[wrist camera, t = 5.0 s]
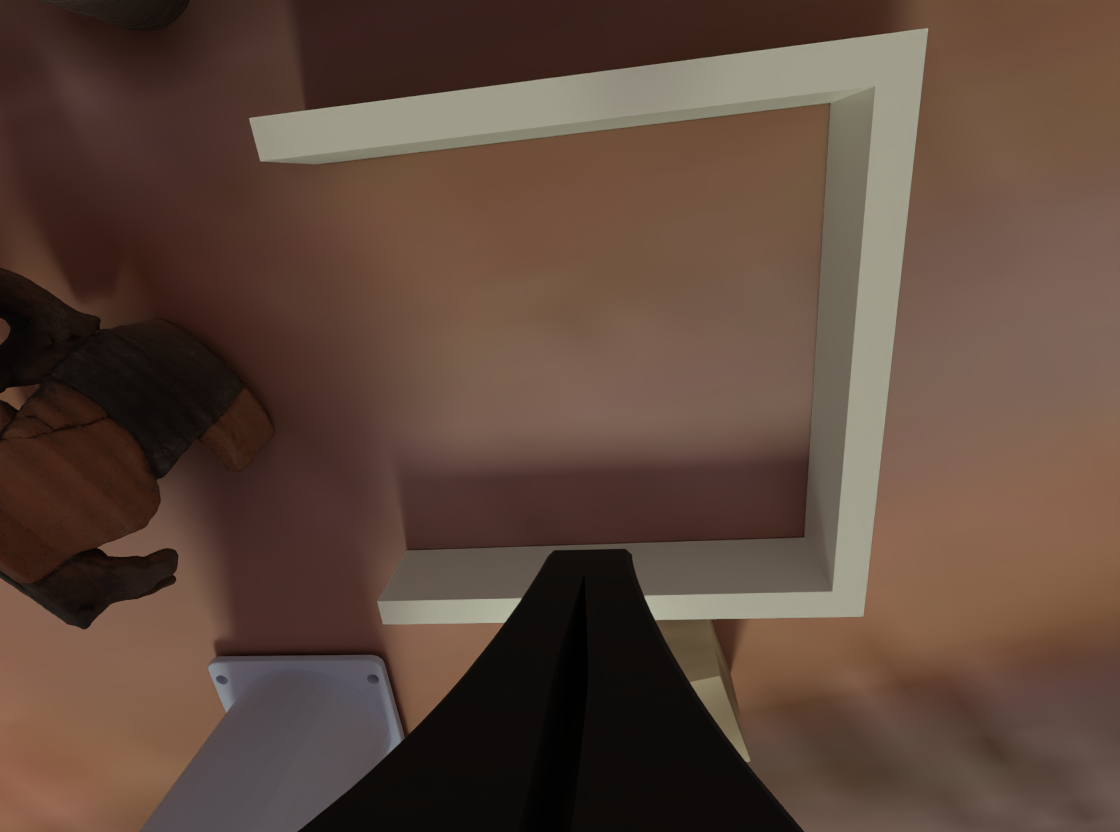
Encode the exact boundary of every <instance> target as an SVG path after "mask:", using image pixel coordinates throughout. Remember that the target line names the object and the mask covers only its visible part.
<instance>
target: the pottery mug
mask: <svg viewBox="0 0 1120 832" xmlns="http://www.w3.org/2000/svg"><path fill="white" fill-rule="evenodd" d="M0 318H2V319H4V320H5V321H6V322H7V323H8V325H9V326H10V328H11V330H10V334H9V336H8V338H7V339H6V340H5V341H4V342H3V343H2V344H1V345H0V393H2V392H4V391H5V390H6V388H10V387H21V386H29V385H35V384H41V385H40V387H39V388H38V389H37V391H36V392H35V393H34V394H33V395H32V396H31V397H29V398H28V400H27V401H26V402H25V404H23V405H22V406H21V408H20V410H17V409H15V408H14V407H12V406H11V405H9V404H8V403H7V402H4V401H2V400H0V578H1V579H3V580H4V581H6V582H7V583H9V584H11V585H12V586H14V587H15V588H16V589H18V590H19V591H20V592H22V593H23V594H25V595H27V596H29V597H30V598H31V599H33V600H34V601H36V602H37V603H38V604H40V605H42V606H43V607H44V608H45V609H47V610H48V611H50V612H51V613H52V614H54V615H56V616H57V617H58V618H60V619H61V620H63V621H64V622H65V623H66V624H69V625H74V626H77V627H79V628H82V629H87V628H88V627H89V626H90V625H91V623H92V622H93V621H94V620H95V619H96V618H97V616H98V615H100V614H101V613H102V612H103V611H104V610H105V609H106V608H107V607H108V606H109V605H110V604H112V603H115V602H119V601H124V600H131V599H139V598H141V597H143V596H146V595H150V594H153V593H155V592H157V591H158V590H160V589H162V588H164V587H167V586H169V585H172V584H174V583H175V581H176V577H175V576H174V575H172V574H174V573H175V571H176V570H177V565H178V554H177V552H176V551H175V550H174V549H170V548H166V549H162V550H159V551H156V552H154V553H152V554H150V555H148V556H145V557H140V556H131V557H113V556H107V555H106V554H105V553H104V552H103V551H102V550H100V549H98V548H97V547H99V546H101V545H102V544H104V543H107V542H111V541H114V540H116V539H119V538H122V537H124V536H126V535H128V534H131V533H134V532H136V531H138V530H140V529H142V528H144V527H146V526H147V525H148V523H149V521H150V519H151V518H152V517H153V516H154V515H155V513H156V512H157V510H158V507H159V505H160V501H161V498H160V492H159V486H158V484H157V479H159V478H162V477H164V476H165V475H166V474H167V473H168V472H169V470H170V469H171V468H172V466H173V465H174V464H175V463H176V461H177V460H178V459H179V457H180V456H181V455H182V454H183V453H184V452H185V451H186V450H187V449H188V448H189V446H190V445H191V443H192V442H193V441H194V440H195V439H196V438H198V439H199V440H200V441H201V442H202V443H204V444H205V445H206V446H208V447H210V449H211V451H212V452H213V453H214V454H215V455H216V456H217V457H218V458H219V459H220V460H221V462H222V463H223V464H224V466H225V468H226V469H227V470H228V471H231V472H240V471H242V470H243V469H245V468H246V467H247V466H248V465H249V464H250V463H251V462H252V460H253V459H254V457H255V455H256V454H257V453H258V452H259V450H260V449H261V448H262V447H263V446H264V445H265V443H266V442H267V441H268V440H269V439H270V438H271V437H272V435H273V434H274V428H273V426H272V425H271V423H270V420H269V417H268V415H267V414H266V413H265V411H264V410H263V409H262V407H261V405H260V403H259V402H258V401H257V400H256V399H255V398H254V397H253V395H252V394H251V392H250V391H249V390H248V389H247V388H246V387H245V386H244V385H243V383H242V381H241V380H240V379H239V378H238V377H237V376H236V375H235V374H234V373H233V372H232V371H231V370H230V369H229V368H228V367H227V365H226V364H225V362H224V360H223V359H222V358H221V357H219V356H218V355H216V354H214V353H213V352H212V351H211V350H210V349H209V348H208V347H207V346H206V345H205V344H204V343H203V342H202V341H200V340H198V339H197V338H196V337H195V336H193V335H192V334H190V333H189V332H187V331H184V330H182V329H180V328H179V327H177V326H175V325H173V324H171V323H169V322H167V321H164V320H161V319H152V320H149V321H146V322H142V323H138V324H134V325H124V326H118V327H115V328H113V329H101V330H100V325H99V324H100V321H101V320H100V318H98V317H97V316H93V315H90V314H85V313H81V312H79V311H76V310H75V309H73V308H71V307H70V306H68V305H66V304H65V303H64V302H62V301H61V300H60V299H58V298H57V297H55V296H54V295H53V294H51V293H50V292H49V291H47V290H45V289H43V288H42V287H40V286H38V285H37V284H35V283H34V282H32V281H31V280H29V279H27V278H25V277H23V276H21V275H19V274H17V273H14V272H12V271H9V270H6V269H3V268H0Z"/></svg>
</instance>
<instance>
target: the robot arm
mask: <svg viewBox="0 0 1120 832" xmlns="http://www.w3.org/2000/svg"><path fill="white" fill-rule="evenodd" d="M208 670H209V673H210V675H211V677H212V680H213V682H214V685H215V687H216V689H217V692H218V694H219V697H220V699H221V701H222V704H223V706H224V709H225V711H226V714H225V716H224V717H223V718H222V720H221V721H220V722H219V724H218V725H217V726H216V728H215V729H214V730H213V732H212V733H211V735H210V736H209V737H208V739H207V740H206V741H205V743H204V744H203V745H202V747H201V748H200V749H199V751H198V752H197V754H196V755H195V756H194V758H193V759H192V760H191V762H190V763H189V764H188V766H187V767H186V768H185V770H184V771H183V772H182V774H181V775H180V777H179V778H178V779H177V781H176V782H175V783H174V785H173V786H172V787H171V789H170V790H169V791H168V793H167V794H166V796H165V797H164V798H163V800H162V801H161V802H160V804H159V805H158V806H157V808H156V809H155V810H154V812H153V813H152V815H151V816H150V817H149V819H148V820H147V821H146V823H145V824H144V825H143V827H142V828H141V829H140V831H139V832H804V831H803V830H802V829H801V827H800V826H799V825H798V824H797V823H796V822H795V820H794V819H793V818H792V817H791V816H790V815H789V813H788V812H787V811H786V810H785V809H784V807H783V806H782V805H781V804H780V803H779V802H778V800H777V799H776V798H775V797H774V796H773V794H772V793H771V792H770V791H769V790H768V789H767V787H766V786H765V785H764V784H763V783H762V781H761V780H760V779H759V778H758V777H757V776H756V774H755V773H754V772H753V771H752V769H751V768H750V767H749V766H748V764H747V763H746V762H745V760H744V759H743V758H742V756H741V755H740V754H739V752H738V751H737V750H736V748H735V747H734V746H733V744H732V743H731V742H730V741H729V739H728V738H727V737H726V735H725V734H724V732H723V731H722V730H721V728H720V727H719V725H718V724H717V722H716V721H715V720H714V718H713V717H712V715H711V714H710V713H709V711H708V710H707V708H706V707H705V705H704V704H703V702H702V701H701V699H700V698H699V696H698V695H697V693H696V692H695V690H694V688H693V687H692V685H691V684H690V682H689V680H688V679H687V677H686V675H685V674H684V672H683V670H682V669H681V667H680V665H679V664H678V662H677V660H676V659H675V657H674V655H673V653H672V652H671V650H670V648H669V646H668V644H667V643H666V641H665V639H664V637H663V635H662V633H661V631H660V629H659V627H658V625H657V623H656V621H655V619H654V617H653V615H652V613H651V611H650V609H649V606H648V604H647V602H646V600H645V597H644V595H643V592H642V590H641V587H640V585H639V582H638V579H637V576H636V572H635V569H634V565H633V560H632V554H631V553H630V552H628V551H627V550H626V549H589V550H554V551H553V552H552V553H551V554H550V555H548V557H547V558H546V560H545V562H544V564H543V566H542V567H541V569H540V571H539V572H538V574H537V576H536V577H535V579H534V580H533V582H532V584H531V585H530V587H529V588H528V590H527V591H526V593H525V594H524V596H523V598H522V599H521V601H520V602H519V604H518V605H517V606H516V608H515V609H514V611H513V612H512V613H511V615H510V616H509V618H508V619H507V620H506V622H505V623H504V625H503V626H502V628H501V629H500V630H499V632H498V633H497V634H496V636H495V637H494V638H493V640H492V641H491V642H490V644H489V645H488V646H487V647H486V648H485V650H484V651H483V652H482V653H481V655H480V656H479V657H478V658H477V660H476V661H475V662H474V663H473V665H472V666H471V667H470V668H469V670H468V671H467V672H466V673H465V675H464V676H463V677H462V678H461V679H460V680H459V682H458V683H457V684H456V685H455V686H454V687H453V688H452V690H451V691H450V692H449V693H448V694H447V695H446V696H445V697H444V698H443V700H442V701H441V702H440V703H439V704H438V705H437V706H436V707H435V708H434V709H433V710H432V711H431V712H430V713H429V714H428V716H427V717H426V718H425V719H424V720H423V721H422V722H421V723H420V724H419V725H418V726H417V727H416V728H415V729H414V730H413V731H412V732H411V733H410V734H409V735H408V736H407V737H406V738H405V736H404V733H403V729H402V725H401V722H400V718H399V714H398V711H397V707H396V703H395V700H394V696H393V692H392V689H391V685H390V681H389V678H388V674H387V670H386V667H385V663H384V661H383V660H382V659H381V658H380V657H378V656H376V655H305V656H219V657H216V658H214V659H213V660H212V661H211V663H210V664H209V666H208ZM374 675H375V676H374Z"/></svg>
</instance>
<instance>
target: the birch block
mask: <svg viewBox="0 0 1120 832" xmlns="http://www.w3.org/2000/svg"><path fill="white" fill-rule="evenodd" d="M655 621H656V623H657V625H658V627H659V629H660V631H661V633H662V635H663V637H664V639H665V641H666V643H667V644H668V646H669V648H670V650H671V652H672V653H673V655H674V657H675V659H676V660H677V662H678V664H679V665H680V667H681V669H682V670H683V672H684V674H685V675H686V677H687V679H688V680H689V682H690V684H691V685H692V687H693V688H694V690H695V692H696V693H697V695H698V696H699V698H700V699H701V701H702V702H703V704H704V705H705V707H706V708H707V710H708V711H709V713H710V714H711V715H712V717H713V718H714V720H715V721H716V722H717V724H718V725H719V727H720V728H721V730H722V731H723V732H724V734H725V735H726V737H727V738H728V739H729V741H730V742H731V743H732V744H733V746H734V747H735V748H736V750H737V751H738V752H739V754H740V755H741V756H742V758H743V759H744V760H745V762H750V761H751V760H750V756H749V751H748V747H747V743H746V738H745V734H744V730H743V725H742V721H741V717H740V712H739V708H738V704H737V699H736V695H735V691H734V686H733V682H732V678H731V673H730V670H729V667H728V665H727V662H726V659H725V656H724V653H723V650H722V648H721V645H720V642H719V639H718V636H717V633H716V631H715V628H714V625H713V622H712V619H686V620H655Z"/></svg>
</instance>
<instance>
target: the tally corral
mask: <svg viewBox="0 0 1120 832" xmlns="http://www.w3.org/2000/svg"><path fill="white" fill-rule="evenodd" d="M927 34H928V28H926V29H918V30H910V31H903V32H895V33H888V34H880V35H873V36H865V37H858V38H850V39H843V40H835V41H827V42H820V43H812V44H805V45H797V46H790V47H782V48H775V49H767V50H760V51H752V52H744V53H737V54H729V55H722V56H714V57H707V58H699V59H692V60H684V61H676V62H669V63H661V64H654V65H646V66H639V67H631V68H624V69H616V70H609V71H601V72H593V73H586V74H578V75H571V76H563V77H556V78H548V79H541V80H533V81H525V82H518V83H510V84H503V85H495V86H488V87H480V88H473V89H465V90H458V91H450V92H442V93H435V94H427V95H420V96H412V97H405V98H397V99H390V100H382V101H374V102H367V103H359V104H352V105H344V106H337V107H329V108H322V109H314V110H307V111H299V112H291V113H284V114H276V115H269V116H261V117H254V118H249V120H250V124H251V128H252V132H253V135H254V139H255V143H256V147H257V150H258V154H259V158H260V161H265V162H282V163H299V164H324V163H333V162H341V161H349V160H358V159H366V158H374V157H383V156H391V155H399V154H408V153H416V152H424V151H433V150H441V149H449V148H458V147H466V146H474V145H483V144H491V143H499V142H508V141H516V140H524V139H533V138H541V137H549V136H558V135H566V134H574V133H583V132H591V131H599V130H608V129H616V128H624V127H633V126H641V125H649V124H658V123H666V122H674V121H683V120H691V119H699V118H708V117H716V116H724V115H733V114H741V113H749V112H758V111H766V110H774V109H783V108H791V107H799V106H808V105H816V104H824V103H830V119H829V135H828V152H827V168H826V185H825V201H824V218H823V234H822V251H821V267H820V284H819V300H818V317H817V333H816V350H815V366H814V383H813V399H812V416H811V432H810V449H809V465H808V482H807V498H806V515H805V531H804V538H775V539H744V540H714V541H683V542H652V543H622V544H591V545H561V546H530V547H499V548H469V549H438V550H407V551H406V552H405V554H404V555H403V557H402V559H401V561H400V562H399V564H398V566H397V567H396V569H395V571H394V573H393V574H392V576H391V578H390V580H389V581H388V583H387V585H386V587H385V588H384V590H383V592H382V594H381V595H380V597H379V599H378V601H377V603H378V607H379V611H380V615H381V618H382V622H383V624H443V623H503V622H506V620H507V619H508V618H509V616H510V615H511V613H512V612H513V611H514V609H515V608H516V606H517V605H518V604H519V602H520V601H521V599H522V598H523V596H524V594H525V593H526V591H527V590H528V588H529V587H530V585H531V584H532V582H533V580H534V579H535V577H536V576H537V574H538V572H539V571H540V569H541V567H542V566H543V564H544V562H545V560H546V558H547V557H548V555H550V554H551V553H552V552H553V551H554V550H589V549H626V550H627V551H628V552H630V553H631V554H632V560H633V565H634V569H635V572H636V576H637V579H638V582H639V585H640V587H641V590H642V592H643V595H644V597H645V600H646V602H647V604H648V606H649V609H650V611H651V613H652V615H653V617H654V619H655V620H686V619H746V618H807V617H863V614H864V605H865V596H866V587H867V578H868V569H869V560H870V551H871V542H872V533H873V524H874V515H875V506H876V496H877V487H878V478H879V469H880V460H881V451H882V442H883V433H884V424H885V415H886V406H887V397H888V388H889V379H890V370H891V360H892V351H893V342H894V333H895V324H896V315H897V306H898V297H899V288H900V279H901V270H902V261H903V252H904V243H905V234H906V225H907V215H908V206H909V197H910V188H911V179H912V170H913V161H914V152H915V143H916V134H917V125H918V116H919V107H920V98H921V89H922V79H923V70H924V61H925V52H926V43H927Z"/></svg>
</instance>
